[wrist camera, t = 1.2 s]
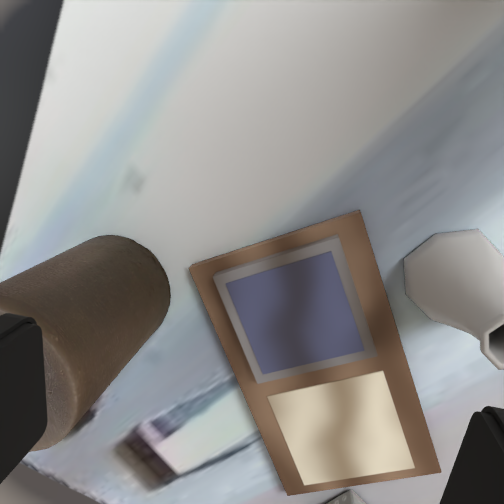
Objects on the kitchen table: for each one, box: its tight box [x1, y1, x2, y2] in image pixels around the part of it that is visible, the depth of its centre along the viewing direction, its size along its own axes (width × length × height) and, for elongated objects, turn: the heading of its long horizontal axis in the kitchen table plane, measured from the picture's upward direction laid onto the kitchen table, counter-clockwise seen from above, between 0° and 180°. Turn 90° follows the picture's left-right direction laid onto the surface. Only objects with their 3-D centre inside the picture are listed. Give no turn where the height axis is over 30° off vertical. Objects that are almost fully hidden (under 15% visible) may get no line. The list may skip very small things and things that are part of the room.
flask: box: [404, 229, 504, 370], centre depth 25 cm, size 7×7×10 cm
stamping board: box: [189, 210, 441, 496], centre depth 33 cm, size 14×24×2 cm, turn 21°
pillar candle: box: [0, 235, 171, 452], centre depth 27 cm, size 10×10×15 cm
